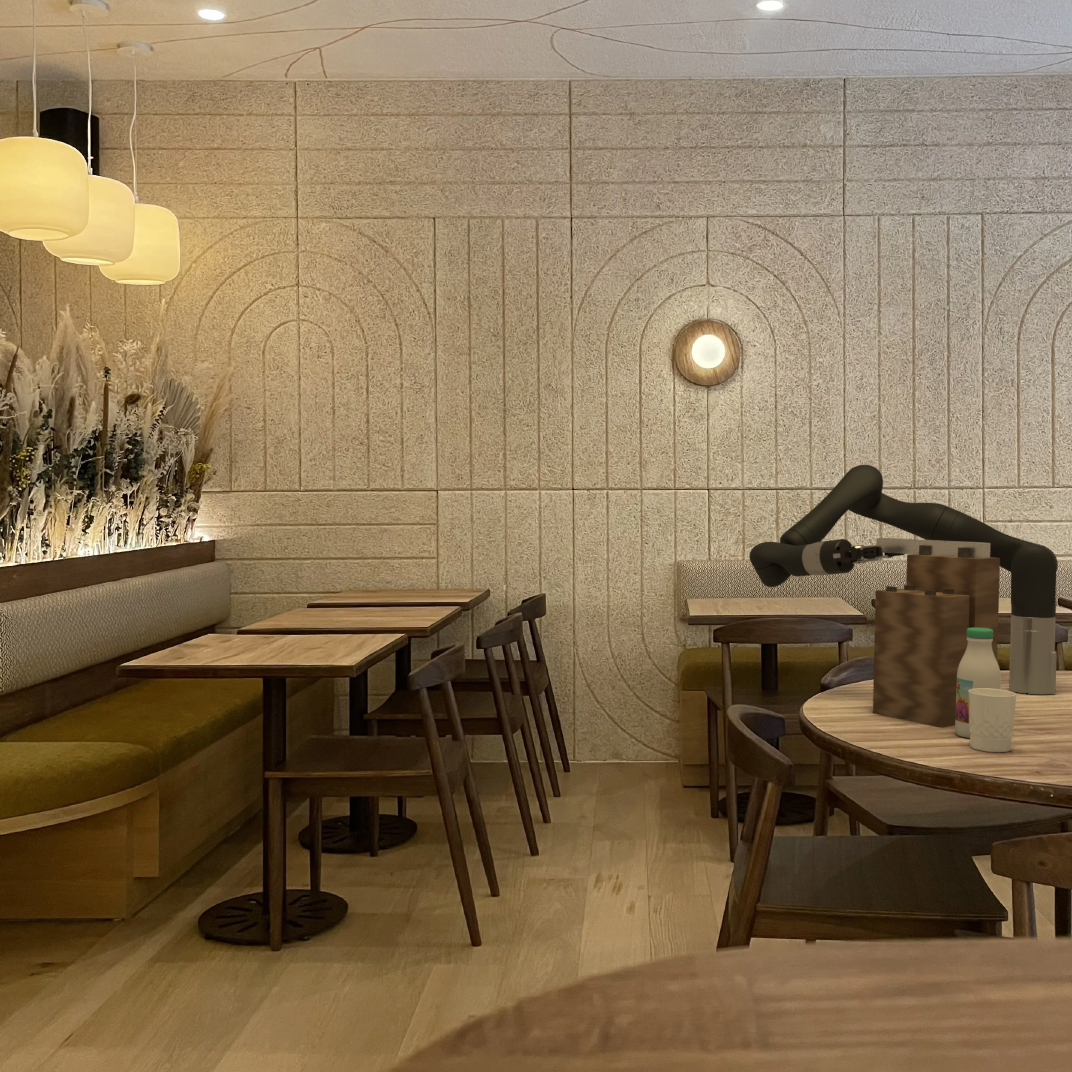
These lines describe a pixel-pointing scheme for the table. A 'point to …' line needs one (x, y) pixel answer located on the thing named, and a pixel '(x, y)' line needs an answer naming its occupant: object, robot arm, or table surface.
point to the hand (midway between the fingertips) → (892, 550)
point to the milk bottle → (975, 674)
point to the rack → (930, 633)
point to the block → (933, 547)
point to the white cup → (991, 719)
